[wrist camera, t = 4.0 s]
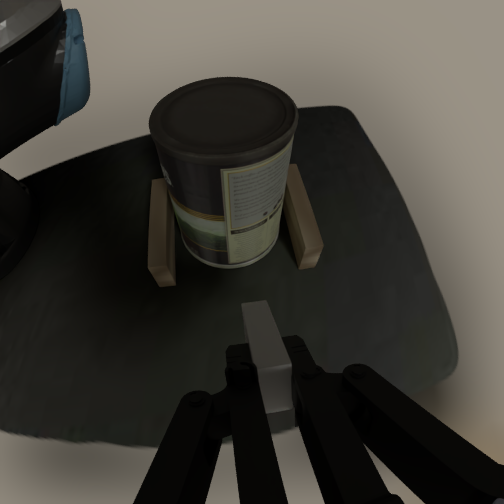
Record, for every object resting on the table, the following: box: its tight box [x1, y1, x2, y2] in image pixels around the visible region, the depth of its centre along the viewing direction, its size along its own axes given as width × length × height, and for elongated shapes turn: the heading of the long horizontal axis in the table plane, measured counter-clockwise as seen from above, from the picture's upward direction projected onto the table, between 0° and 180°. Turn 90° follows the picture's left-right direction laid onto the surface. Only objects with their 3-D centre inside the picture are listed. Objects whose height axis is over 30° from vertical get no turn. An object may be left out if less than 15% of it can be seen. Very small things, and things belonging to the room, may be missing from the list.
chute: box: [148, 164, 324, 287], centre depth 29 cm, size 15×10×4 cm
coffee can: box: [149, 77, 298, 269], centre depth 25 cm, size 10×10×14 cm
